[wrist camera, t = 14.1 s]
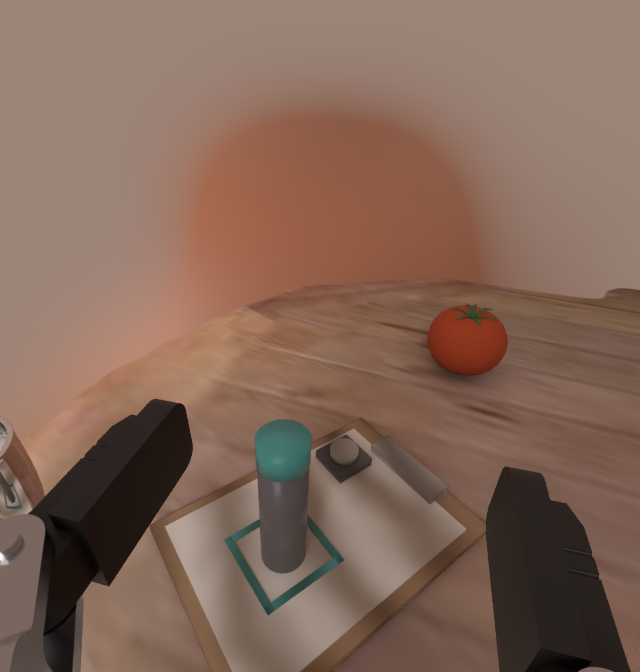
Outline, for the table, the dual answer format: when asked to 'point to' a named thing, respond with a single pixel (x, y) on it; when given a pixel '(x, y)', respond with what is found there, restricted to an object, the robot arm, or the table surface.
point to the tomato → (467, 340)
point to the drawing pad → (315, 557)
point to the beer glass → (16, 475)
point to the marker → (283, 492)
